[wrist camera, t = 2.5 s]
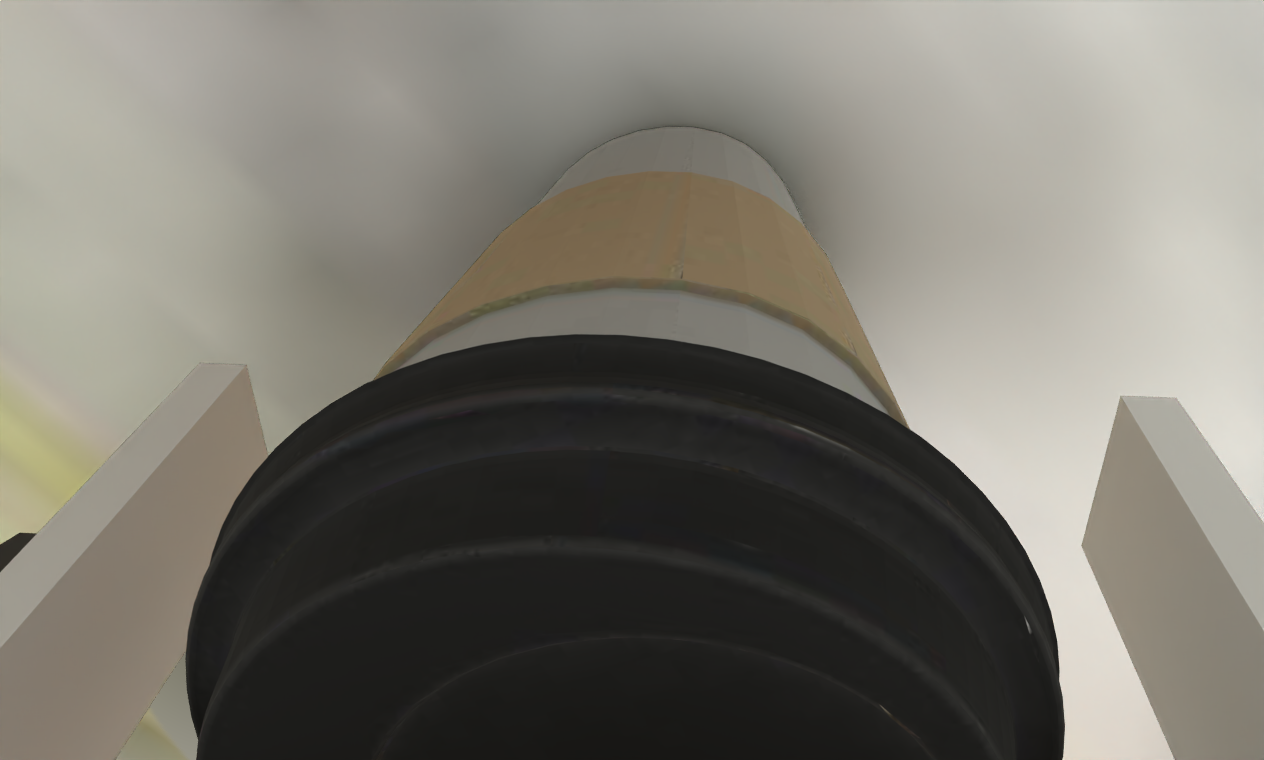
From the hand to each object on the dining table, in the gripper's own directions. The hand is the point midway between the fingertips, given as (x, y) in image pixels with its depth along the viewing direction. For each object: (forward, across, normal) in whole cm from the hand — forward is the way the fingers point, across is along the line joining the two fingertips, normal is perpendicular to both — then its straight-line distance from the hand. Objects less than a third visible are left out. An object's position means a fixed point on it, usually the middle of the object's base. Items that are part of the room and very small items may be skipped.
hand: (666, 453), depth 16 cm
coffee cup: (+8, 0, 0) cm, 8 cm away
